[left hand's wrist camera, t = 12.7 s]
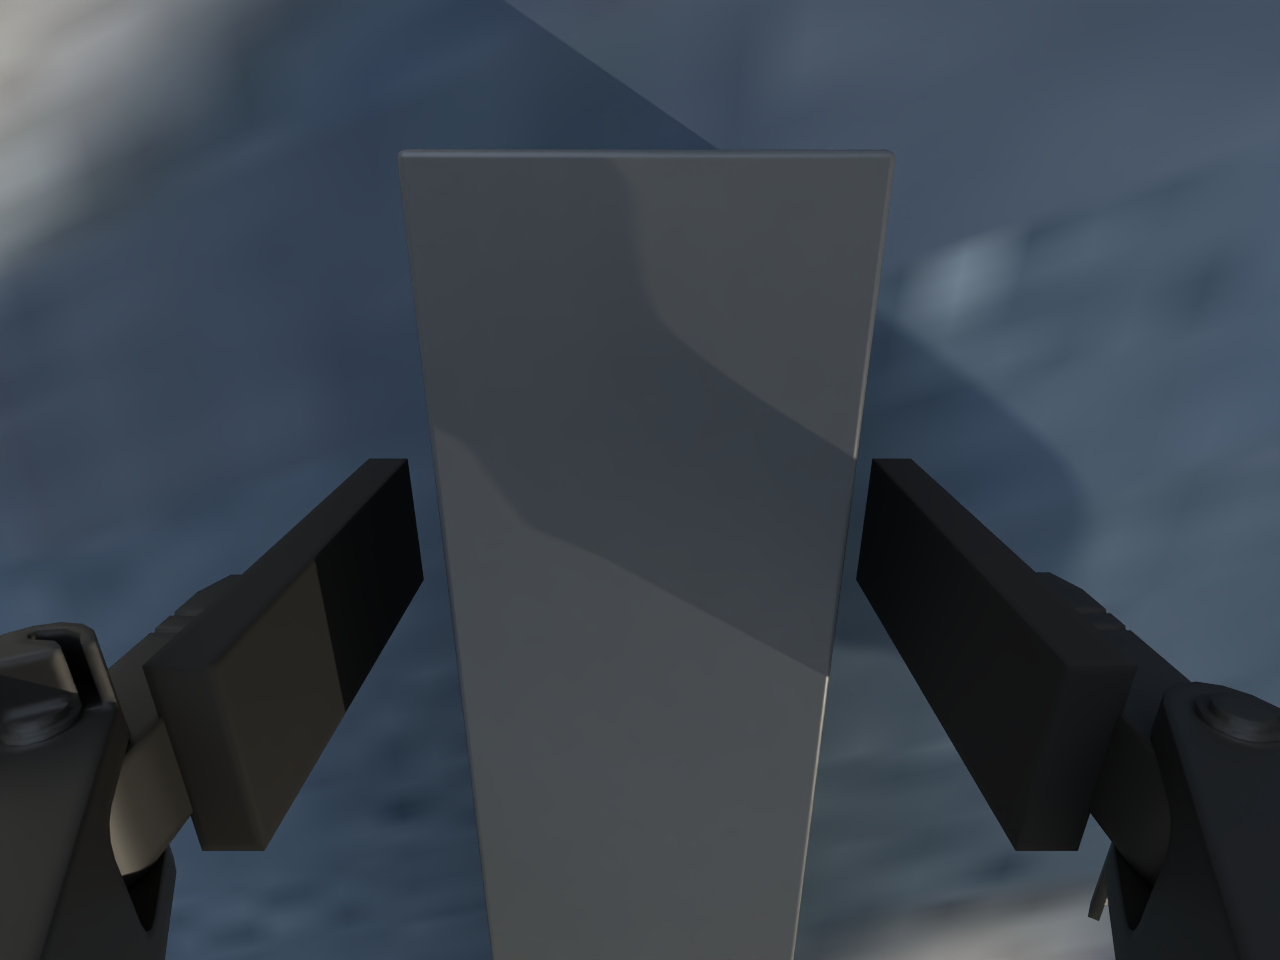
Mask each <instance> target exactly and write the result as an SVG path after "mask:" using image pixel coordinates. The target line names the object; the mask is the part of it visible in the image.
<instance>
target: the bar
mask: <svg viewBox="0 0 1280 960" xmlns="http://www.w3.org/2000/svg"><path fill="white" fill-rule="evenodd" d="M397 161H398V169H399V178H400V186H401V194H402V203H403V211H404V220H405V228H406V236H407V245H408V253H409V262H410V270H411V278H412V287H413V295H414V304H415V312H416V321H417V329H418V337H419V346H420V354H421V363H422V371H423V379H424V388H425V396H426V405H427V413H428V422H429V430H430V438H431V447H432V455H433V464H434V472H435V480H436V489H437V497H438V506H439V514H440V523H441V531H442V539H443V548H444V556H445V565H446V573H447V581H448V590H449V598H450V607H451V615H452V623H453V632H454V640H455V649H456V657H457V666H458V674H459V682H460V691H461V699H462V708H463V716H464V724H465V733H466V741H467V750H468V758H469V766H470V775H471V783H472V792H473V800H474V809H475V817H476V825H477V834H478V842H479V851H480V859H481V867H482V876H483V884H484V893H485V901H486V910H487V918H488V926H489V935H490V943H491V952H492V960H793V958H794V950H795V942H796V934H797V926H798V918H799V910H800V903H801V895H802V887H803V879H804V871H805V863H806V855H807V848H808V840H809V832H810V824H811V816H812V808H813V801H814V793H815V785H816V777H817V769H818V761H819V753H820V746H821V738H822V730H823V722H824V714H825V706H826V698H827V691H828V683H829V675H830V667H831V659H832V651H833V643H834V636H835V628H836V620H837V612H838V604H839V596H840V588H841V581H842V573H843V565H844V557H845V549H846V541H847V534H848V526H849V518H850V510H851V502H852V494H853V486H854V479H855V471H856V463H857V455H858V447H859V439H860V431H861V424H862V416H863V408H864V400H865V392H866V384H867V376H868V369H869V361H870V353H871V345H872V337H873V329H874V321H875V314H876V306H877V298H878V290H879V282H880V274H881V267H882V259H883V251H884V243H885V235H886V227H887V219H888V212H889V204H890V196H891V188H892V180H893V172H894V164H895V157H894V153H893V152H891V151H889V150H714V149H405V150H402V151H400V152H399V154H398V159H397Z"/></svg>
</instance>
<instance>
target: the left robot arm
mask: <svg viewBox="0 0 1280 960" xmlns="http://www.w3.org/2000/svg"><path fill="white" fill-rule="evenodd" d="M423 580H424V578H423V570H422V563H421V555H420V548H419V540H418V533H417V526H416V518H415V511H414V503H413V496H412V488H411V481H410V473H409V466H408V459H368V460H367V461H366V462H365V463H364V464H363V465H362V466H361V467H360V468H358V469H357V470H356V471H355V472H354V473H353V474H352V475H351V476H350V477H349V478H347V479H346V480H345V481H344V482H343V483H342V484H341V485H340V486H339V487H338V488H337V489H335V490H334V491H333V492H332V493H331V494H330V495H329V496H328V497H327V498H326V499H324V500H323V501H322V502H321V503H320V504H319V505H318V506H317V507H316V508H315V509H313V510H312V511H311V512H310V513H309V514H308V515H307V516H306V517H305V518H304V519H303V520H301V521H300V522H299V523H298V524H297V525H296V526H295V527H294V528H293V529H292V530H290V531H289V532H288V533H287V534H286V535H285V536H284V537H283V538H282V539H281V540H279V541H278V542H277V543H276V544H275V545H274V546H273V547H272V548H271V549H270V550H268V551H267V552H266V553H265V554H264V555H263V556H262V557H261V558H260V559H259V560H258V561H256V562H255V563H254V564H253V565H252V566H251V567H250V568H249V569H248V570H247V571H245V572H244V573H243V574H242V575H230V576H228V577H226V578H224V579H222V580H220V581H218V582H216V583H214V584H212V585H210V586H208V587H206V588H205V589H203V590H201V591H199V592H197V593H196V594H195V595H194V596H193V597H191V598H190V599H189V600H188V601H187V602H186V603H185V604H183V605H182V606H181V607H180V608H179V609H178V610H176V611H175V615H174V616H169V617H168V618H167V619H166V620H165V621H164V622H162V623H161V624H160V625H159V626H158V627H157V628H155V633H150V634H148V635H147V636H146V637H145V638H144V639H143V640H141V641H140V642H139V643H138V644H137V645H136V646H134V647H133V648H132V649H131V650H130V651H129V652H128V653H126V654H125V655H124V656H123V657H122V658H121V659H119V660H118V661H117V662H116V663H115V664H114V665H112V666H111V667H110V668H109V669H107V666H106V663H105V660H104V657H103V654H102V651H101V649H100V646H99V643H98V640H97V637H96V634H95V632H94V630H93V629H91V628H89V627H87V626H85V625H84V624H78V623H64V622H60V623H53V624H45V625H37V626H32V627H28V628H25V629H21V630H17V631H14V632H10V633H6V634H3V635H0V960H165V953H166V946H167V938H168V931H169V923H170V916H171V908H172V901H173V893H174V886H175V878H176V867H175V862H174V857H173V854H172V851H171V848H170V846H169V844H170V842H171V841H172V840H173V838H174V837H175V836H176V834H177V833H178V832H179V830H180V829H181V827H182V826H183V825H184V823H185V822H186V821H187V819H188V818H189V817H190V815H191V818H192V821H193V824H194V827H195V830H196V833H197V836H198V839H199V842H200V845H201V848H202V851H264V850H265V849H266V847H267V845H268V844H269V842H270V840H271V838H272V837H273V835H274V833H275V832H276V830H277V828H278V827H279V825H280V823H281V821H282V820H283V818H284V816H285V815H286V813H287V811H288V810H289V808H290V806H291V804H292V803H293V801H294V799H295V798H296V796H297V794H298V793H299V791H300V789H301V787H302V786H303V784H304V782H305V781H306V779H307V777H308V776H309V774H310V772H311V770H312V769H313V767H314V765H315V764H316V762H317V760H318V759H319V757H320V755H321V753H322V752H323V750H324V748H325V747H326V745H327V743H328V742H329V740H330V738H331V736H332V735H333V733H334V731H335V730H336V728H337V726H338V725H339V723H340V721H341V719H342V718H343V716H344V714H345V713H346V711H347V709H348V708H349V706H350V704H351V702H352V701H353V699H354V697H355V696H356V694H357V692H358V691H359V689H360V687H361V685H362V684H363V682H364V680H365V679H366V677H367V675H368V674H369V672H370V670H371V668H372V667H373V665H374V663H375V662H376V660H377V658H378V657H379V655H380V653H381V651H382V650H383V648H384V646H385V645H386V643H387V641H388V640H389V638H390V636H391V634H392V633H393V631H394V629H395V628H396V626H397V624H398V622H399V621H400V619H401V617H402V616H403V614H404V612H405V611H406V609H407V607H408V605H409V604H410V602H411V600H412V599H413V597H414V595H415V594H416V592H417V590H418V588H419V587H420V585H421V583H422V582H423ZM856 580H857V582H858V583H859V585H860V587H861V589H862V590H863V592H864V594H865V595H866V597H867V599H868V600H869V602H870V604H871V606H872V607H873V609H874V611H875V612H876V614H877V616H878V617H879V619H880V621H881V623H882V624H883V626H884V628H885V629H886V631H887V633H888V634H889V636H890V638H891V640H892V641H893V643H894V645H895V646H896V648H897V650H898V651H899V653H900V655H901V657H902V658H903V660H904V662H905V663H906V665H907V667H908V668H909V670H910V672H911V674H912V675H913V677H914V679H915V680H916V682H917V684H918V685H919V687H920V689H921V691H922V692H923V694H924V696H925V697H926V699H927V701H928V702H929V704H930V706H931V708H932V709H933V711H934V713H935V714H936V716H937V718H938V719H939V721H940V723H941V725H942V726H943V728H944V730H945V731H946V733H947V735H948V736H949V738H950V740H951V742H952V743H953V745H954V747H955V748H956V750H957V752H958V753H959V755H960V757H961V759H962V760H963V762H964V764H965V765H966V767H967V769H968V770H969V772H970V774H971V776H972V777H973V779H974V781H975V782H976V784H977V786H978V787H979V789H980V791H981V793H982V794H983V796H984V798H985V799H986V801H987V803H988V804H989V806H990V808H991V810H992V811H993V813H994V815H995V816H996V818H997V820H998V821H999V823H1000V825H1001V827H1002V828H1003V830H1004V832H1005V833H1006V835H1007V837H1008V838H1009V840H1010V842H1011V844H1012V845H1013V847H1014V849H1015V850H1016V851H1078V848H1079V845H1080V842H1081V839H1082V836H1083V833H1084V830H1085V827H1086V824H1087V821H1088V818H1089V815H1090V813H1091V814H1092V816H1093V817H1094V818H1095V820H1096V821H1097V822H1098V824H1099V825H1100V826H1101V828H1102V829H1103V830H1104V832H1105V833H1106V834H1107V836H1108V837H1109V838H1110V840H1111V841H1112V843H1111V846H1110V848H1109V851H1108V854H1107V857H1106V860H1105V863H1104V866H1103V868H1102V871H1101V874H1100V877H1099V880H1098V883H1097V885H1096V888H1095V891H1094V894H1093V897H1092V900H1091V903H1090V908H1089V914H1088V917H1090V918H1093V919H1095V920H1098V921H1099V919H1100V916H1101V914H1102V911H1103V908H1104V906H1105V905H1107V904H1108V906H1109V913H1110V921H1111V928H1112V936H1113V943H1114V951H1115V958H1116V960H1280V708H1278V707H1276V706H1274V705H1272V704H1270V703H1268V702H1265V701H1263V700H1261V699H1259V698H1257V697H1255V696H1253V695H1250V694H1247V693H1244V692H1241V691H1238V690H1235V689H1231V688H1228V687H1225V686H1221V685H1214V684H1208V683H1201V682H1190V681H1189V680H1188V679H1187V678H1186V677H1185V676H1183V675H1182V674H1181V673H1180V672H1179V671H1178V670H1176V669H1175V668H1174V667H1173V666H1172V665H1171V664H1169V663H1168V662H1167V661H1166V660H1165V659H1164V658H1162V657H1161V656H1160V655H1159V654H1158V653H1156V652H1155V651H1154V650H1153V649H1152V648H1151V647H1149V646H1148V645H1147V644H1146V643H1145V642H1144V641H1142V640H1141V639H1140V638H1139V637H1138V636H1137V635H1135V634H1134V633H1133V632H1132V631H1131V630H1126V629H1125V625H1124V624H1122V623H1121V622H1120V621H1119V620H1118V619H1117V618H1115V617H1114V616H1113V615H1112V614H1111V613H1106V609H1105V608H1104V607H1103V606H1101V605H1100V604H1099V603H1098V602H1097V601H1096V600H1094V599H1093V598H1092V597H1091V596H1090V595H1088V594H1087V593H1086V592H1085V591H1084V590H1083V589H1081V588H1079V587H1077V586H1075V585H1073V584H1071V583H1069V582H1067V581H1065V580H1063V579H1061V578H1059V577H1057V576H1055V575H1054V574H1052V573H1050V572H1035V571H1033V570H1032V569H1031V568H1030V567H1029V566H1028V565H1027V564H1026V563H1025V562H1024V561H1022V560H1021V559H1020V558H1019V557H1018V556H1017V555H1016V554H1015V553H1014V552H1013V551H1011V550H1010V549H1009V548H1008V547H1007V546H1006V545H1005V544H1004V543H1003V542H1002V541H1001V540H999V539H998V538H997V537H996V536H995V535H994V534H993V533H992V532H991V531H990V530H988V529H987V528H986V527H985V526H984V525H983V524H982V523H981V522H980V521H979V520H977V519H976V518H975V517H974V516H973V515H972V514H971V513H970V512H969V511H968V510H967V509H965V508H964V507H963V506H962V505H961V504H960V503H959V502H958V501H957V500H956V499H954V498H953V497H952V496H951V495H950V494H949V493H948V492H947V491H946V490H945V489H943V488H942V487H941V486H940V485H939V484H938V483H937V482H936V481H935V480H934V479H933V478H931V477H930V476H929V475H928V474H927V473H926V472H925V471H924V470H923V469H922V468H920V467H919V466H918V465H917V464H916V463H915V462H914V461H913V460H912V459H872V466H871V473H870V481H869V488H868V496H867V503H866V511H865V518H864V525H863V533H862V540H861V548H860V555H859V563H858V570H857V578H856Z"/></svg>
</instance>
